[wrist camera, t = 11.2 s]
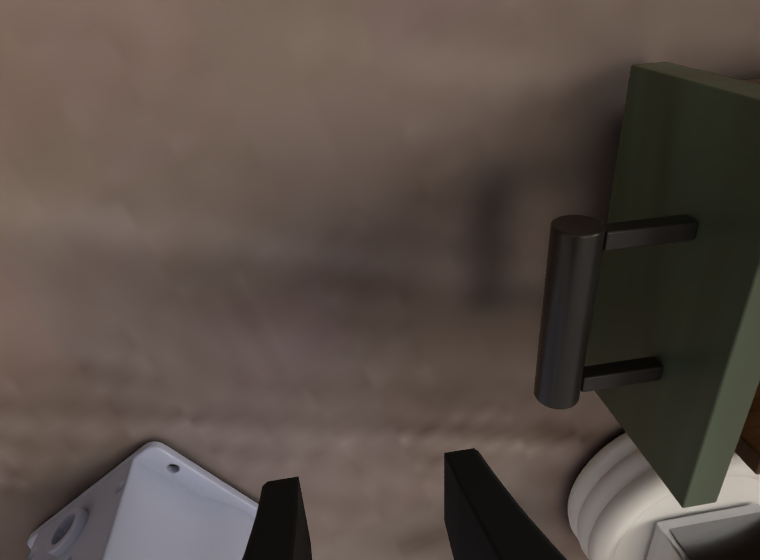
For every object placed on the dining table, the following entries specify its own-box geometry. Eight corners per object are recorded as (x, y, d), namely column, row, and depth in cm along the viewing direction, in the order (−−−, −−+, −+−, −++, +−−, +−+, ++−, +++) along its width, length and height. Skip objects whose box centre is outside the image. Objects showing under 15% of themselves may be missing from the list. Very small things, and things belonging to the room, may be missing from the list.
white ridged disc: (764, 389, 27) (824, 442, 24) (725, 521, 32) (771, 578, 29) (567, 431, 26) (604, 491, 23) (559, 559, 31) (589, 622, 28)
